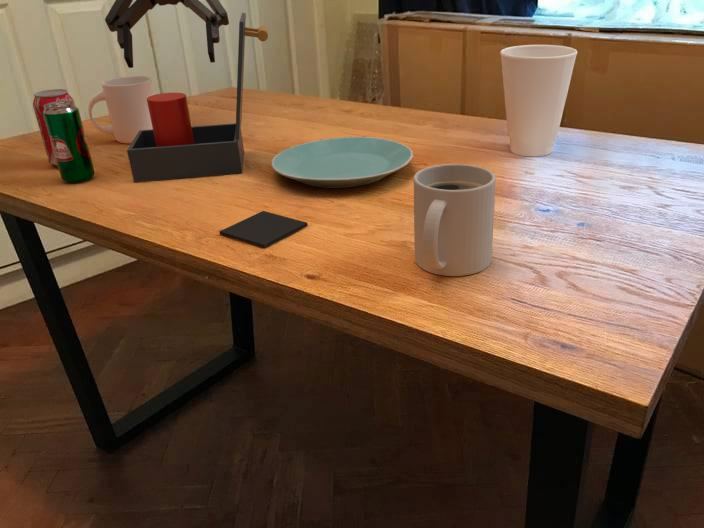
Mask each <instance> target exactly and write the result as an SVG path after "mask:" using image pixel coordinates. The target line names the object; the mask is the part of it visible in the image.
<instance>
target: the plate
mask: <svg viewBox="0 0 704 528" xmlns="http://www.w3.org/2000/svg"><path fill="white" fill-rule="evenodd" d="M413 158H414V152H413V150H412V149H411V148H410V147H409V146H408V145H406V144H404V143H401V142H398V141H396V140H391V139H388V138H381V137H373V136H341V137H340V136H339V137H332V138H324V139H318V140H312V141H308V142H304V143H300V144H296V145H293V146H291V147H288V148H286V149H283V150H282V151H280V152H278V153H277V154H276V155H275V156H274V157H272V160H271V162H270V165H271V168H272V170H273V171H274V172H276V173H277V174H278V175H281V176H282V177H285V178H288V179H292V180H294V181H298V182H300V183H302V184H305V185H307V186H313V187H318V188H325V189H326V188H327V189H342V188H343V189H345V188H355V187H361V186H365V185H366V186H367V185H370V184H373V183H375V182H377V181H378V182H379V181H381V180H382V179H384V178H385V177H387V176H389V175H391V174H393V173H395V172H397V171H399V170H401V169H403V168H404V167H406V166H408V164H409V163H410V162H411V161H412V160H413Z"/></svg>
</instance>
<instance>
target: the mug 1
mask: <svg viewBox="0 0 704 528" xmlns="http://www.w3.org/2000/svg"><path fill="white" fill-rule="evenodd" d="M101 86H102V89H101V90H99V91H98V92H96V93H95V94H94V95H93V96H92V98H91V99H90V101H89V103H88V108H87V109H88V115H89V119H90V121H91V123H92V125H93V127H95V128H96V129H97V130H98V131H99V132H101V133H104V134H108V135H113V136H114V139H115V140H116V141H117V142H119V143H121V144H128V145H131V143H132V141H133V140H134V138H135V137H136V135H137V134H138V132H139V131H140V130H152V129H153V128H152V123H151V118H150V113H149V108H148V103H147V98H148V97H150V96H152V95H155V92H154V87H153V82H152V78H151V77H149V76H147V75H146V76H145V75H129V76H119V77H113V78H110V79H106V80H104V81H102V82H101ZM102 101H105V103H106V108H107V112H108V115H109V116H108V117H109V120H110V123H109V124H107V125H101V124H99V123H97V122H96V121H95V120H94V118H93V114H92V113H93V112H92V111H93V108H94V107H95V105H96V104H97V103H99V102H102Z"/></svg>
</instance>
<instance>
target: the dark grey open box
mask: <svg viewBox="0 0 704 528" xmlns="http://www.w3.org/2000/svg"><path fill="white" fill-rule="evenodd" d="M191 126H192V125H191ZM192 132H193V138H194V143H195V144H189V145H176V146H163V147H156V142H155V137H154V132H153V129H152V130H140V131H139V132H138V134H137V135H136V137H135V138H134V140H133V141H132V143H131V144H129V146H128V148H126V153H127V158H128V161H129V167H130V170H131V174H132V179H133V183H142V182H155V181H156V182H157V181H166V180H167V181H168V180H169V181H170V180H178V179H179V180H180V179H191V178H203V177H214V176H215V177H216V176H228V175H238V174H239V175H240V174H243V167H244V159H245V148H244V141H243V133H242V129H241V130H240V137H239V139H235V133H236V122H235V123H220V124H219V123H218V124H206V125H193V126H192Z"/></svg>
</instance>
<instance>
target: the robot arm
mask: <svg viewBox="0 0 704 528" xmlns="http://www.w3.org/2000/svg"><path fill="white" fill-rule="evenodd" d="M133 1H134V0H115V1H114V2H113V4H112V6H111V8H110V9H109V11H108V13H107V14H106V16H105V18H104V21H105V23H106V26H107V28H108V30H109V32H111V33H114V32H116V38H117V39H116V41H117V43H118V45H119V47H120V50H122V49H123V59H124V61H125V63H126V66H127V67H128V69H133V68H134V50H133V49H134V48H133V47H134V46H133V34H132V32H131V30H132V29H133V28H134V27H135V25H136V24H137V23H138V22H139V21H140V20H141V19H142V18H143V17H144V16H145V15H146V13H148V11H149V10H150V11H151V10H153V9H154V8H155V7H156V6H157V5H158V6H159V7H160V6H161V7H162V6H167V5H172V6H178V4H179V3H181V4H182V5H183V6H184V7H185V8H188V9H189V10H190V11H192V12H193V13H194V14H195V15H196V16H198V18H200V19H201V20H203V21H204V22H205V32H206V45H207V54H208V58H209V62H210V63H211V64H212V63H216V58H215V57H216V55H215V46H214V45H215V44H219V43H220V40H221V38H220V27H222V26H228V25H229V24H230V21H229V16H228V12H227V11H226V8H225V7H224V6H223V5H222V3H221V2H220V1H219V0H205V2H206V3H207V5H208V6H209V7H210V9H211V10H210V9H209V8H208V7H207V5H204V4H203V3H202V2H201V1H200V0H135V1H134V2H133Z"/></svg>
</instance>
